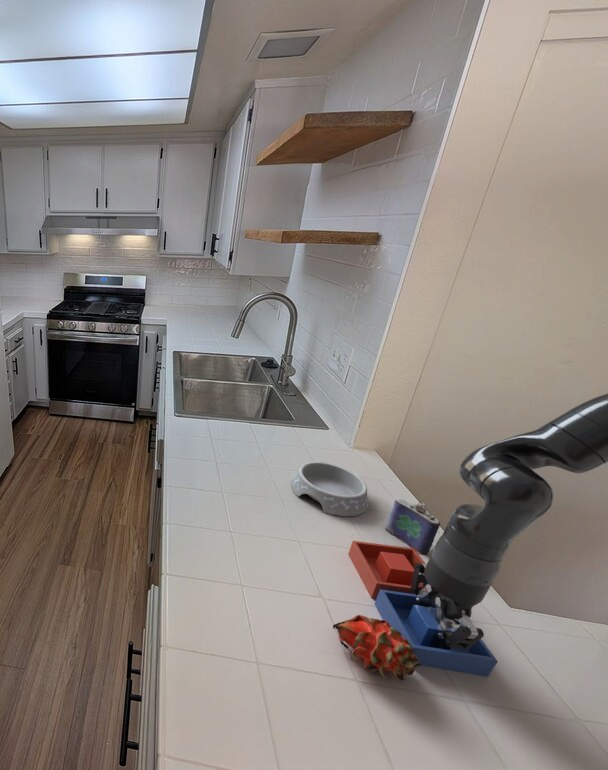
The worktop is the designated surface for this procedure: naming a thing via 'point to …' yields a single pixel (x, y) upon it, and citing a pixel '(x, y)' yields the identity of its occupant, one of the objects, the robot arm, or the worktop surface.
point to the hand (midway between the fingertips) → (427, 634)
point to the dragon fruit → (378, 646)
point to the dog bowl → (332, 488)
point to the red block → (394, 568)
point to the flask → (412, 525)
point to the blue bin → (469, 661)
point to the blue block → (424, 624)
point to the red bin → (366, 559)
